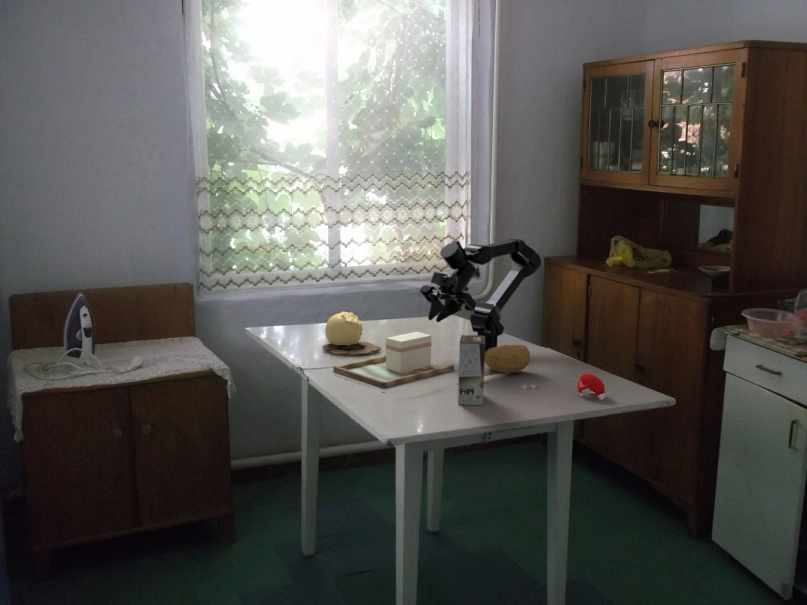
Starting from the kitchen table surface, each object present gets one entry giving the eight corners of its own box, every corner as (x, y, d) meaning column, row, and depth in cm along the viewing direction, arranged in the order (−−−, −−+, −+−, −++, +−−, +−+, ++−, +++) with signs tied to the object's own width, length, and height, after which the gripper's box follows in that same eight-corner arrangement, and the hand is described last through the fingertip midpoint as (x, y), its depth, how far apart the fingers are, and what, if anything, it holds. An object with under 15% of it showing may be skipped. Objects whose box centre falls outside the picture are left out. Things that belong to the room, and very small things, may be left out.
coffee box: (483, 406, 210) (485, 343, 207) (457, 404, 210) (459, 342, 207) (483, 395, 219) (485, 335, 216) (459, 394, 219) (460, 334, 216)
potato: (476, 370, 242) (477, 343, 241) (520, 366, 247) (521, 340, 245) (491, 379, 233) (492, 351, 232) (536, 375, 238) (537, 348, 236)
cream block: (416, 361, 246) (416, 331, 244) (430, 365, 242) (431, 335, 240) (385, 368, 238) (385, 337, 236) (400, 373, 234) (400, 341, 232)
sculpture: (363, 348, 265) (363, 315, 263) (324, 349, 264) (324, 315, 262) (362, 340, 276) (362, 308, 274) (325, 340, 275) (325, 308, 273)
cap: (569, 384, 219) (585, 377, 214) (580, 372, 222) (596, 365, 218) (587, 408, 219) (603, 402, 214) (597, 396, 223) (614, 390, 218)
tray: (403, 359, 253) (403, 351, 253) (454, 373, 238) (454, 365, 238) (333, 375, 235) (333, 366, 234) (383, 392, 220) (383, 383, 219)
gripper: (424, 258, 251) (397, 298, 246) (470, 265, 238) (442, 308, 232) (442, 281, 258) (416, 321, 253) (488, 289, 245) (461, 332, 239)
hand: (433, 320), depth 244 cm, fingers open, 3 cm apart
